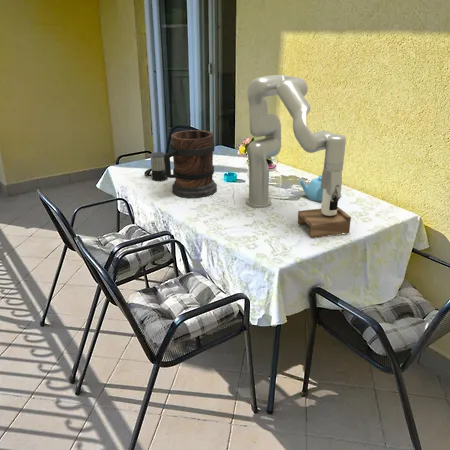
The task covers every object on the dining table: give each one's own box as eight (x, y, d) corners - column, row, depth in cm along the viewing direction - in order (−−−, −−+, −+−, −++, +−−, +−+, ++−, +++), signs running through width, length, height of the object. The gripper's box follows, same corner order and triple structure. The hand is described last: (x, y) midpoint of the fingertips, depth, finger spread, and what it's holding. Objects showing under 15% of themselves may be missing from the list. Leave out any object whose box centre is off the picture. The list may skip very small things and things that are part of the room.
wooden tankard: (225, 190, 230) (225, 134, 217) (183, 205, 211) (179, 145, 199) (196, 180, 245) (194, 127, 233) (154, 193, 227) (149, 137, 214)
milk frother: (164, 182, 243) (162, 156, 237) (138, 180, 246) (136, 155, 240) (172, 174, 256) (170, 150, 250) (147, 173, 259) (144, 149, 253)
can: (325, 209, 187) (327, 182, 181) (339, 212, 183) (342, 186, 178) (318, 213, 182) (320, 187, 177) (332, 217, 178) (335, 190, 173)
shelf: (297, 223, 190) (298, 207, 187) (332, 219, 193) (334, 204, 190) (311, 238, 176) (312, 221, 173) (349, 233, 180) (350, 217, 177)
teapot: (318, 205, 209) (320, 184, 204) (297, 196, 220) (298, 176, 216) (340, 198, 216) (342, 178, 212) (319, 190, 228) (320, 170, 223)
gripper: (316, 160, 181) (312, 200, 188) (334, 172, 165) (330, 215, 173) (332, 159, 182) (328, 198, 190) (352, 171, 167) (347, 213, 174)
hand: (329, 206), depth 181 cm, fingers closed on can, 6 cm apart
